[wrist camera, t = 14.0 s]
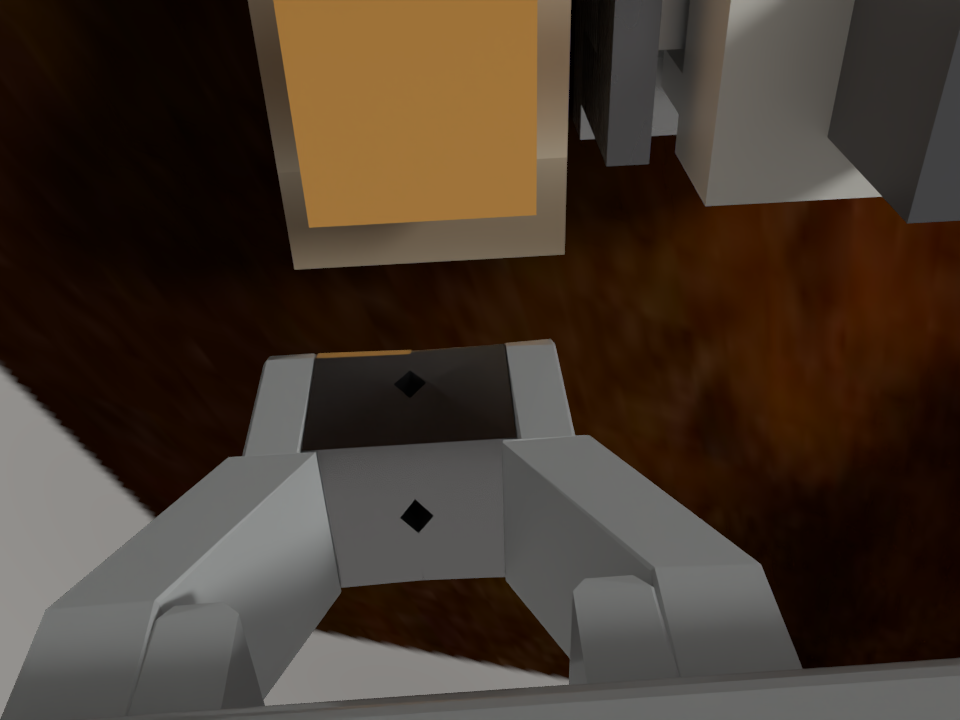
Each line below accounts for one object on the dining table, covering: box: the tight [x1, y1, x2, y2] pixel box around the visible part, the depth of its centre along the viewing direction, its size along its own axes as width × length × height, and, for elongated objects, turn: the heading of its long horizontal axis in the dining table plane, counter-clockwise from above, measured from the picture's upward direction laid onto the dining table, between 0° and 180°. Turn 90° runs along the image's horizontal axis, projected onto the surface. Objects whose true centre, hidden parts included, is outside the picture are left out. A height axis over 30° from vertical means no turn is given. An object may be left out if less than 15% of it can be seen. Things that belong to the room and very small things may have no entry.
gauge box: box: [248, 0, 571, 270], centre depth 22 cm, size 11×6×6 cm, turn 2°
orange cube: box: [273, 0, 538, 228], centre depth 18 cm, size 4×4×4 cm
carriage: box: [661, 0, 960, 223], centre depth 19 cm, size 7×7×9 cm
